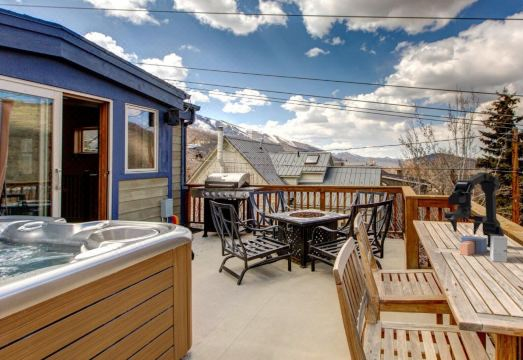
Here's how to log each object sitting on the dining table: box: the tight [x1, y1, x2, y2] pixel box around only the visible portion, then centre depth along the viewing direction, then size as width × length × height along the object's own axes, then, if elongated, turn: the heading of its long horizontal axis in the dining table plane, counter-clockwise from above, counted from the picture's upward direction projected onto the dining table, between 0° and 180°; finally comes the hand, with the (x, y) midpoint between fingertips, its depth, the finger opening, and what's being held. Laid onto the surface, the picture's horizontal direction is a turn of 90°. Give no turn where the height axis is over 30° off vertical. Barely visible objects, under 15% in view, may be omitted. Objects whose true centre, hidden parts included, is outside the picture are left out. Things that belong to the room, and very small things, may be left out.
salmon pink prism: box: [459, 240, 477, 257], centre depth 175 cm, size 13×4×6 cm, turn 126°
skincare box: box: [489, 235, 508, 263], centre depth 160 cm, size 6×4×12 cm
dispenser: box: [460, 234, 488, 255], centre depth 178 cm, size 7×10×8 cm
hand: (464, 233), depth 172 cm, fingers open, 9 cm apart
